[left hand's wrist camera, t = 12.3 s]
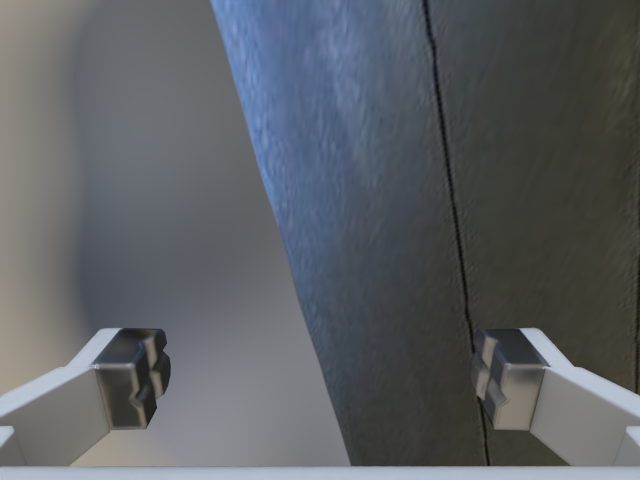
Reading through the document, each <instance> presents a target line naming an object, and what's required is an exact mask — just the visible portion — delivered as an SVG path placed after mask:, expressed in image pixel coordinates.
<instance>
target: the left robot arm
mask: <svg viewBox="0 0 640 480" xmlns="http://www.w3.org/2000/svg"><path fill="white" fill-rule="evenodd" d="M166 344H167V341H166V336H165V332H164V331H163V330H162V329H139V328H124V329H123V328H104V329H101V330H99V331H98V332H97V334H96V335H95V336H94V337H93V338H92V339H91V340H90V341H89V342H88V343H87V344H86V345H85V347H84V348H83V349H82V350H81V351H80V352H79V353H78V354H77V355H76V356H75V357H74V359H73V360H72V361H71V362H70V363H69V364H68V365H67V366H66V367H59V368H57V369H55V370H53V371H50V372H48V373H46V374H44V375H42V376H40V377H38V378H36V379H34V380H32V381H30V382H28V383H26V384H24V385H22V386H19V387H17V388H15V389H13V390H11V391H9V392H7V393H5V394H3V395H1V396H0V480H640V396H639V395H637V394H635V393H633V392H631V391H629V390H627V389H625V388H622V387H620V386H618V385H616V384H614V383H612V382H610V381H608V380H606V379H604V378H602V377H600V376H598V375H596V374H594V373H592V372H590V371H587V370H585V369H583V368H581V367H574V366H573V365H572V364H571V363H570V362H569V361H568V360H567V359H566V357H565V356H564V355H563V354H562V353H561V352H560V351H559V350H558V349H557V348H556V347H555V345H554V344H553V343H552V342H551V341H550V340H549V339H548V338H547V337H546V336H545V335H544V333H543V332H542V331H541V330H539V329H537V328H516V329H480V330H477V331H476V333H475V335H474V340H473V344H474V346H475V347H476V349H477V352H476V353H475V354H474V355H473V356H472V357H471V359H470V367H469V371H470V380H471V383H472V387H473V389H474V391H475V393H476V395H478V396H479V397H480V398H482V399H483V400H484V405H483V409H484V411H485V413H486V415H487V417H488V418H489V420H490V422H491V424H492V426H493V428H494V429H505V430H530V432H531V433H532V434H533V435H534V436H535V437H537V438H538V439H539V440H540V441H542V442H543V443H544V444H545V445H546V446H548V447H549V448H550V449H551V450H552V451H554V452H555V453H556V454H557V455H559V456H560V457H561V458H562V459H563V460H565V461H566V462H567V463H568V464H569V465H571V466H377V467H320V466H317V467H316V466H314V467H313V466H91V467H90V466H84V467H83V466H69V465H71V464H72V463H73V462H74V461H76V460H77V459H78V458H79V457H80V456H82V455H83V454H84V453H85V452H86V451H88V450H89V449H90V448H91V447H93V446H94V445H95V444H96V443H97V442H99V441H100V440H101V439H102V438H103V437H105V436H106V435H107V434H108V433H110V430H134V429H146V428H147V426H148V424H149V422H150V420H151V418H152V417H153V415H154V413H155V411H156V409H157V405H156V400H157V399H158V398H160V397H161V396H162V395H164V393H165V391H166V389H167V387H168V383H169V379H170V370H171V365H170V358H169V357H168V356H167V355H166V354H165V353H164V352H163V349H164V347H165V346H166Z"/></svg>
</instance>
